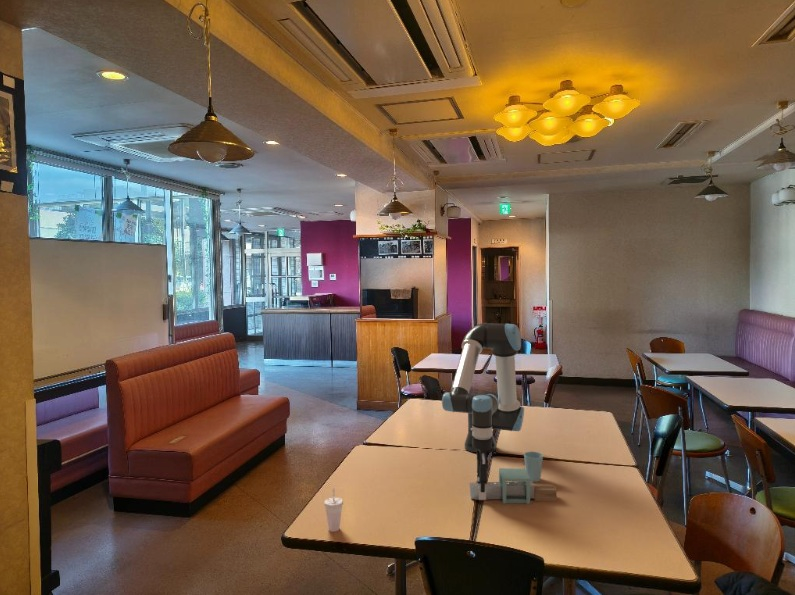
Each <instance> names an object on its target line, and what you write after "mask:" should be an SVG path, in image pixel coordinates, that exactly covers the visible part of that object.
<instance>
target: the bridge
mask: <svg viewBox="0 0 795 595" xmlns="http://www.w3.org/2000/svg"><path fill="white" fill-rule="evenodd" d="M517 481H526V499H506V482H517ZM498 482H502V499H501V500H502V501H501V502H502V504H527V505H529V504H531V498H530V478H529V476H528V474H527V472H526V469H525V468H511V467H510V468H504V467H503V468H498Z"/></svg>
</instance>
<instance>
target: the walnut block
mask: <svg viewBox="0 0 795 595" xmlns="http://www.w3.org/2000/svg"><path fill="white" fill-rule="evenodd" d="M533 484H534V489H535V498H533V501H534V502H557V498H558V497H557V494H558V493H557V491H558V490H557V488H556V487H555V485H554V484H547V483H546V484H545V483H543V484H540V483H539V484H535V483H533Z"/></svg>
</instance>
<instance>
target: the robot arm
mask: <svg viewBox="0 0 795 595" xmlns="http://www.w3.org/2000/svg"><path fill="white" fill-rule="evenodd" d="M521 347H522V337H521V332H520V329H519V327H518V325H516V324H513V323H508V322H507V323H493V322H492V323H489V322H484V323H483V322H482V323H479V324H477V325H474V326H473V327H472V328H470V330H469V331H468V332H467V333H466V334H465V335H464V336H463V339H462V342H461V349H462V350H461V354H460V357H459V361H458V364H457V367H456V370H455V375H454V377H453V382H452V385H451V388H450V392H444V393H443V395H442V397H441V406H442V409H443V411H446V412H452V413H462V414H467V435H466V438H465V440H464V441H465V442H464V450H466V451H467V450H468V451H467V452H470V451H471V452H470V453H473V452H476V453H475V455H476V473H477V474H476V476H477V478H476V479H477V483H478V484H479V500H478V501H487V499H486V484H487V482H488V481H487V480H488V478H487V477H488V471H487V470H488V454H491V453H494V452H495V451H496V450H497V445H496V439H495V437H494V435H493V430H501V431H507V432H520V431H521V430H522V428H523V422H524V416H525V407H524V406H521V402H520V401H519V400H518V399H517V398H518V396H517V380H516V378H517V377H516V360H515V359H516V358H515V357H516V355H517V354H518V352H519V351H520V350H521ZM483 349H487V350H491V354H492V355H493V356H494V357H495V371H496V384H497V387H496V388H497V397H496V395H494V394H492V393H487V394H471V393H470V390H471V386H472V384H473V378H474V375H475V373H476V372H475V371H476V368H477V367H476V366H477V364H478V359H479V355H480V354H481V353H482V351H483Z"/></svg>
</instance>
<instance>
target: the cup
mask: <svg viewBox="0 0 795 595" xmlns="http://www.w3.org/2000/svg"><path fill="white" fill-rule="evenodd" d="M523 457H524V458H523V459H524V467H525V468H524V469H525V470H526V472H527V474H528V476H529V478H530V481H532V482H533V483H534V482H535V483H536V482H537V483H538V482H540V480H541V476H542V468H543V459H544V455H543V453H541V452H537V451H527V452H524V453H523Z"/></svg>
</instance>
